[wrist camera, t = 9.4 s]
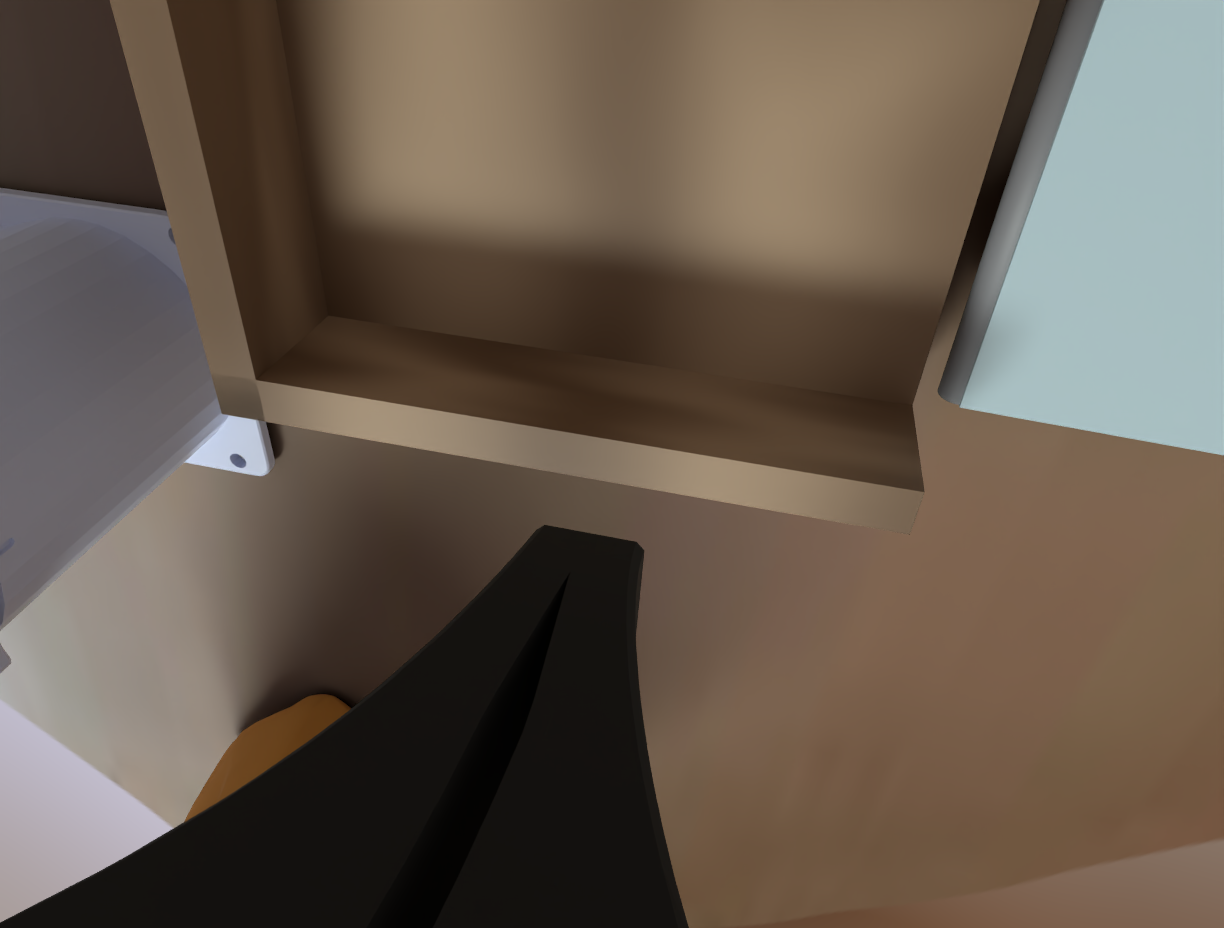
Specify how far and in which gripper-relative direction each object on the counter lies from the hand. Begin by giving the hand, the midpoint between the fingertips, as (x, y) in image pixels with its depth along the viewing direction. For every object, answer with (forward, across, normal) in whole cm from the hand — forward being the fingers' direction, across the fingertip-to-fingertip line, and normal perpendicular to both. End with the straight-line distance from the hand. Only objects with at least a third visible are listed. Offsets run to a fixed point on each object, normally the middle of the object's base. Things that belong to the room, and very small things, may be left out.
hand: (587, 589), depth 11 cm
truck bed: (+10, +2, -4) cm, 11 cm away
